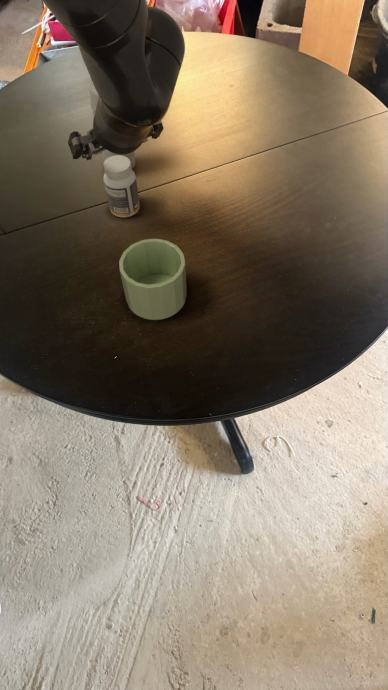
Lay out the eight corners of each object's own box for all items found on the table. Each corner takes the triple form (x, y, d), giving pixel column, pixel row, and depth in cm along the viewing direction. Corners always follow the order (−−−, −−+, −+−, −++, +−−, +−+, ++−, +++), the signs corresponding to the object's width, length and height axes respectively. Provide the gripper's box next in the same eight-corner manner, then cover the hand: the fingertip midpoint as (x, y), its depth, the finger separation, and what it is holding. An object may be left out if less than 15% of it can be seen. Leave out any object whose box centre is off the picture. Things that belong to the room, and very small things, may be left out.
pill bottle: (126, 194, 92) (119, 148, 83) (146, 208, 89) (140, 162, 81) (103, 208, 89) (93, 163, 81) (123, 223, 87) (114, 178, 79)
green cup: (128, 323, 75) (121, 290, 68) (124, 277, 80) (117, 242, 73) (190, 316, 75) (188, 283, 69) (182, 270, 81) (180, 235, 74)
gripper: (164, 77, 65) (144, 114, 80) (62, 100, 62) (61, 134, 77) (180, 134, 66) (157, 159, 82) (81, 159, 63) (77, 181, 79)
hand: (111, 147), depth 79 cm, fingers open, 8 cm apart
